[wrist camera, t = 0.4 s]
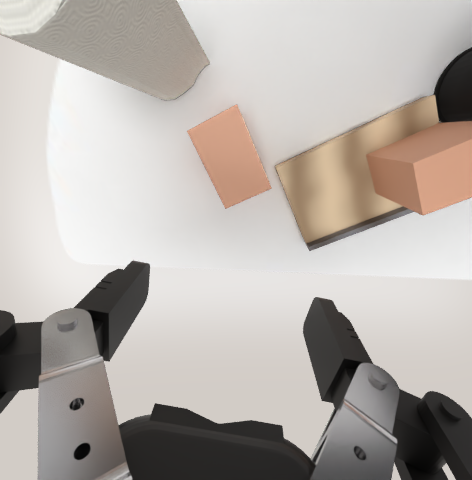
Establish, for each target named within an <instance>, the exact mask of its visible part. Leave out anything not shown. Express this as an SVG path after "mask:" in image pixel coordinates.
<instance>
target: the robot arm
mask: <svg viewBox="0 0 472 480" xmlns="http://www.w3.org/2000/svg"><path fill="white" fill-rule="evenodd" d="M149 274H150V265H149V264H148V263H143V262H138V261H132V262H131V263H130V264H129V265H128V266H127V267H126V268H125V269H124V270H123V269H117V270H115V271H113V272H111V273H109V274H107V275H106V276H105V277H104V278H103V279H102V280H101V282H99V283H98V284H97V285H96V287H95V288H93V289H92V290H91V291H90V292H89V293H88V294H87V295H86V296H85V297H84V298H83V299H82V300H81V301H80V302H79V303H78V304H77V305H76V306H75V307H74V308H70V309H65V310H61V311H58V312H56V313H54V314H52V315H50V316H49V317H48V318H47V319H46V320H45V321H44V322H30V323H15V319H14V316H13V315H12V314H11V313H9V312H6V311H1V310H0V413H1V412H2V411H3V410H4V408H5V407H6V406H7V405H8V404H9V402H10V401H11V400H12V399H13V397H14V396H15V395H16V394H17V393H18V391H19V390H25V389H33V388H39V401H38V402H39V403H38V480H391V478H392V472H393V466H394V462H395V465H396V467H397V470H398V472H399V475H400V477H401V480H448V478H447V476H446V475H445V473H444V471H443V469H442V467H443V465H445V464H446V463H447V464H448V466H449V468H450V470H451V471H452V473H453V475H454V477H455V479H456V480H472V418H471V417H470V416H469V415H468V413H467V412H466V411H465V410H464V409H463V408H462V407H461V406H460V405H458V404H457V403H456V402H454V401H453V400H452V399H450V398H449V397H447V396H445V395H443V394H441V393H438V392H434V391H430V392H427V393H426V394H425V395H424V397H423V398H422V399H420V398H418V397H416V396H413V395H412V394H409V393H407V392H405V391H403V390H400V389H399V387H398V385H397V383H396V381H395V380H394V379H393V378H392V377H391V376H390V375H389V374H388V373H387V372H386V371H385V370H383V369H382V368H380V367H378V366H376V365H374V364H373V363H372V361H371V359H370V357H369V355H368V354H367V352H366V350H365V348H364V346H363V344H362V343H361V341H360V339H358V338H359V337H358V335H357V334H356V332H355V330H354V328H353V326H352V324H351V322H350V321H349V320H348V319H347V318H346V317H345V316H344V315H343V314H342V313H340V312H338V310H337V309H336V307H335V305H334V303H333V301H332V300H328V299H323V298H318V297H315V298H314V300H313V302H312V304H311V307H310V309H309V312H308V314H307V317H306V320H305V322H304V327H303V334H304V338H305V341H306V345H307V348H308V352H309V356H310V360H311V363H312V367H313V370H314V374H315V377H316V381H317V385H318V388H319V392H320V396H321V399H322V401H326V402H331V403H333V404H334V407H335V409H334V410H333V412H332V414H331V417H330V419H329V421H328V423H327V425H326V427H325V429H324V431H323V433H322V436H321V438H320V440H319V442H318V444H317V447H316V448H315V451H314V453H313V455H312V457H311V458H309V457H308V456H307V455H306V454H305V453H304V452H303V451H302V450H301V449H299V448H298V447H297V446H296V445H294V444H293V443H291V442H290V441H288V440H286V439H284V437H283V428H282V426H281V425H275V424H269V423H264V422H258V421H252V420H250V421H242V422H233V423H224V424H217V423H215V422H213V421H210V420H209V419H206V418H204V417H202V416H200V415H198V414H196V413H194V412H192V411H190V410H188V409H184V408H178V407H173V406H167V405H161V404H155V405H154V408H153V411H152V414H151V415H145V416H140V417H136V418H134V419H131V420H128V421H126V422H124V423H122V424H120V425H118V422H117V417H116V413H115V409H114V404H113V400H112V395H111V391H110V387H109V382H108V378H107V373H106V369H105V365H104V361H110V359H111V358H112V356H113V354H114V353H115V351H116V349H117V348H118V346H119V344H120V343H121V341H122V340H123V338H124V336H125V335H126V333H127V331H128V330H129V328H130V327H131V325H132V323H133V322H134V320H135V318H136V317H137V315H138V313H139V312H140V310H141V308H142V307H143V305H144V303H145V301H146V299H147V295H148V287H149Z"/></svg>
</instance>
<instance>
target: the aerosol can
mask: <svg viewBox="0 0 472 480" xmlns="http://www.w3.org/2000/svg"><path fill="white" fill-rule="evenodd" d="M434 95H435V98H436V105H437V112H438V118H439V119H440V121H441V122H442V123H446V122H463V121H472V48H470V49H468V50H466V51H464V52H463V53H461V54H460V55H459V56H457V57H456V58H455V59H454V60H453V61H452V62H451V63H450V64H449V65H448V67H447V68H446V69H445V71H444V72H443V74H442V75H441V77H440V79H439V81H438V84H437V86H436V90H435V94H434Z"/></svg>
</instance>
